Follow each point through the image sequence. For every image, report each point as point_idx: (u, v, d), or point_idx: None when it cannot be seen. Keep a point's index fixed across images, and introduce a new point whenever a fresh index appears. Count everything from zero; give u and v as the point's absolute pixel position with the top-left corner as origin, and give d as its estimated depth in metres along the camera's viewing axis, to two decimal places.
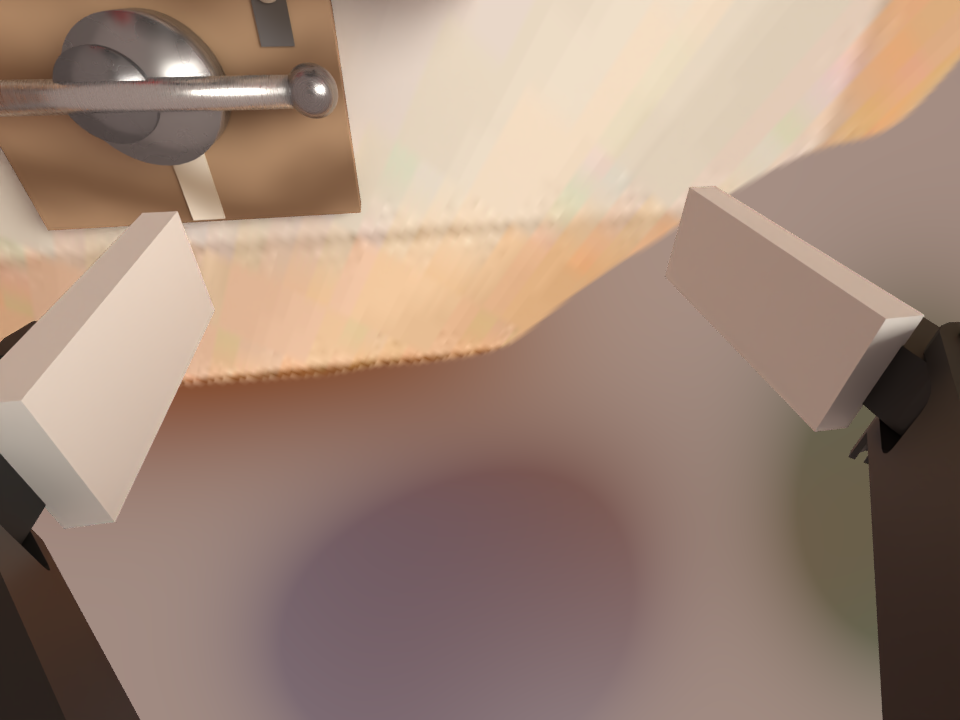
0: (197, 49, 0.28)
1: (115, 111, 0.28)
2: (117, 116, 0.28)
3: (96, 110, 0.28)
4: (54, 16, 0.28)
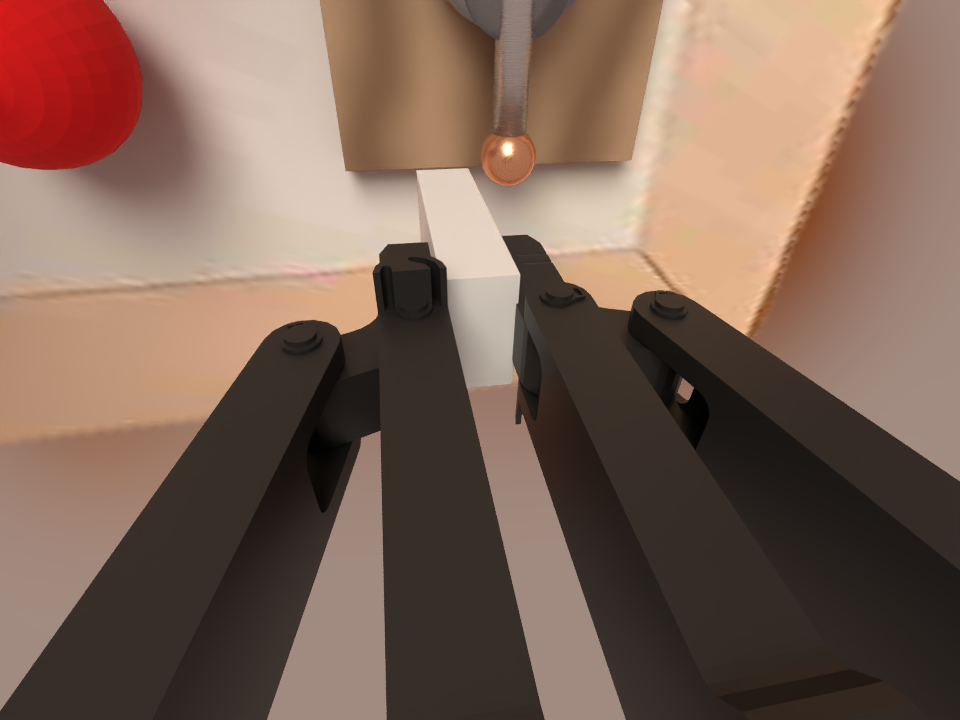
0: None
1: None
2: None
3: None
4: (432, 41, 0.26)
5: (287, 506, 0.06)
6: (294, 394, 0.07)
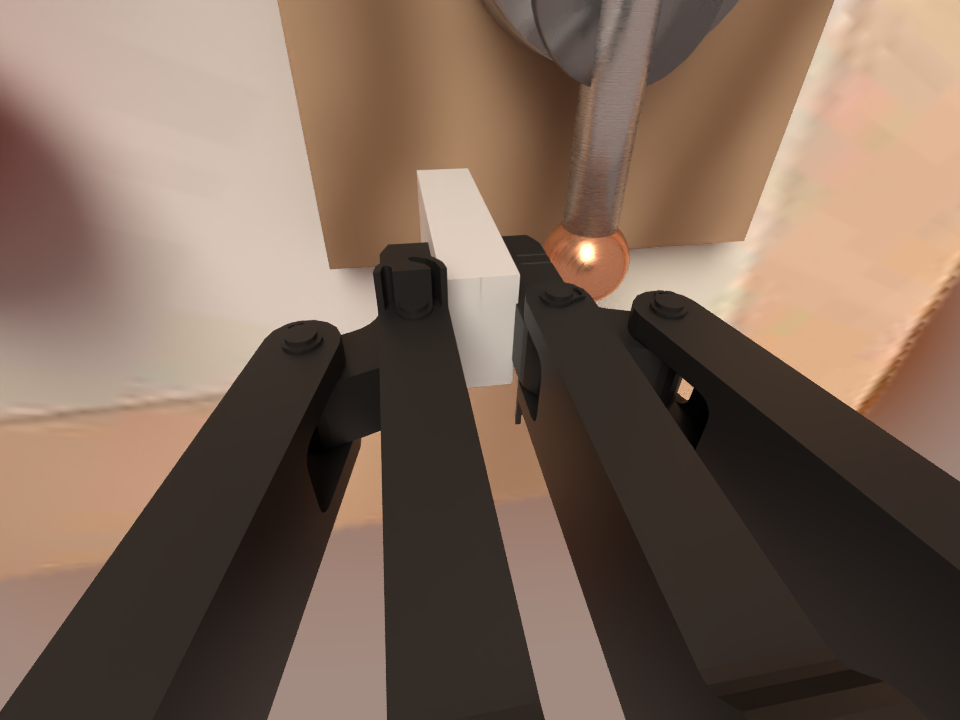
0: None
1: None
2: None
3: (658, 11, 0.12)
4: (466, 79, 0.16)
5: (287, 506, 0.06)
6: (294, 394, 0.07)
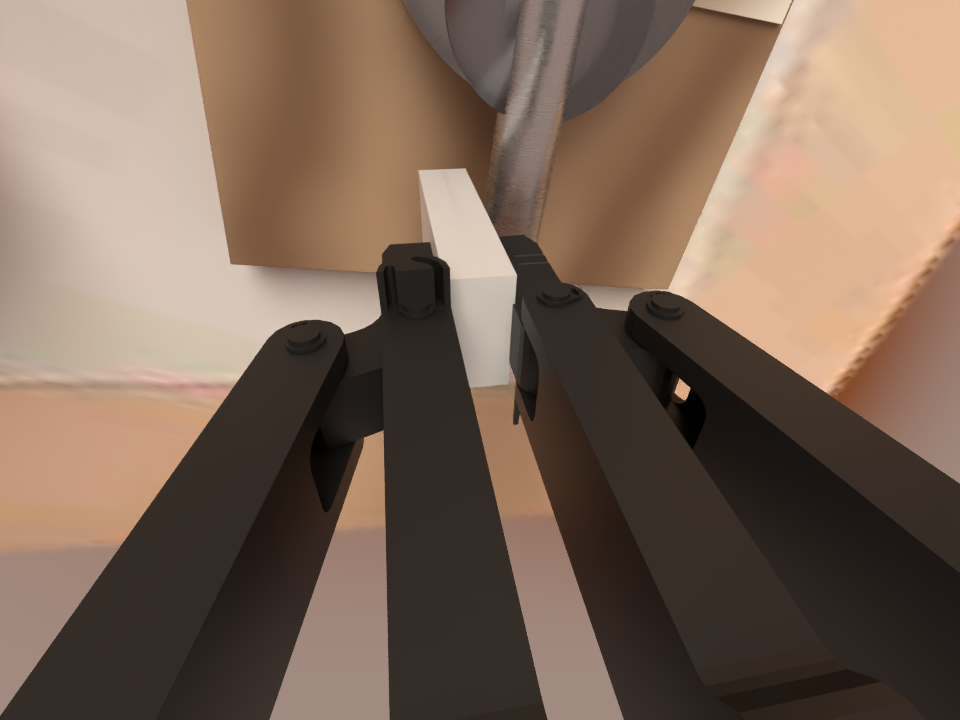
0: None
1: None
2: (595, 5, 0.11)
3: (574, 46, 0.12)
4: (388, 87, 0.15)
5: (290, 506, 0.06)
6: (298, 394, 0.07)
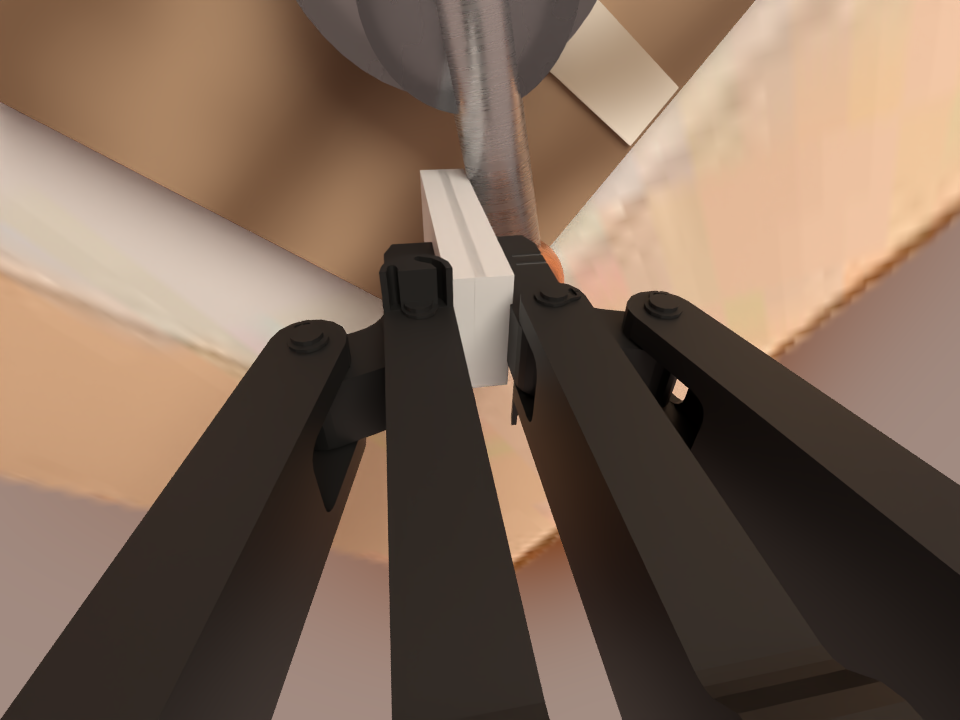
0: None
1: None
2: None
3: (504, 20, 0.11)
4: None
5: (293, 505, 0.06)
6: (300, 394, 0.07)
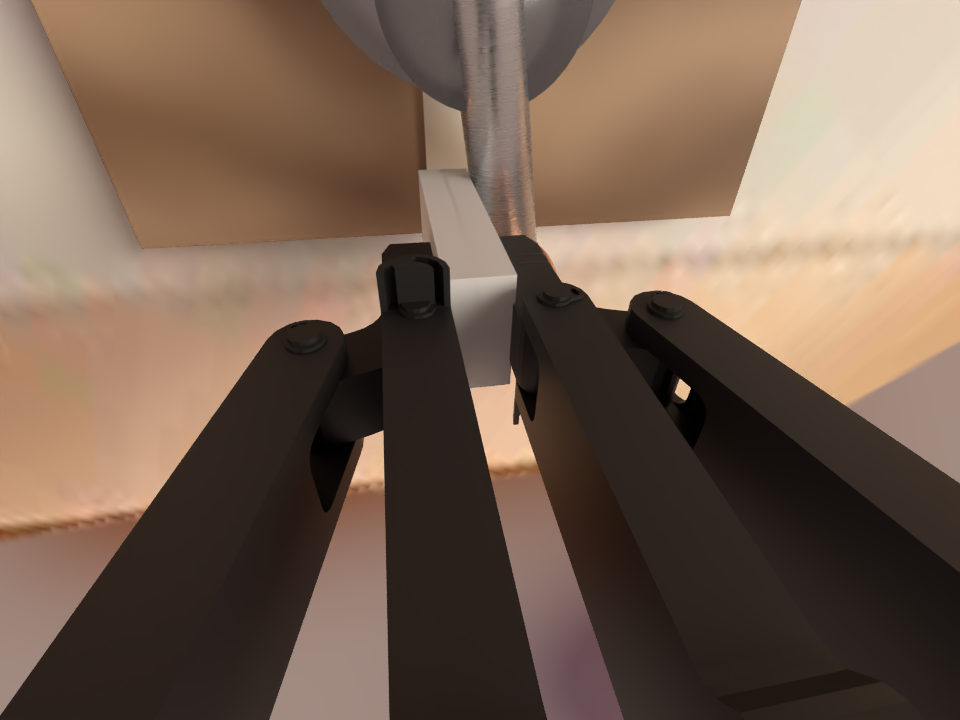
0: None
1: None
2: None
3: (518, 23, 0.11)
4: None
5: (290, 505, 0.06)
6: (297, 393, 0.07)
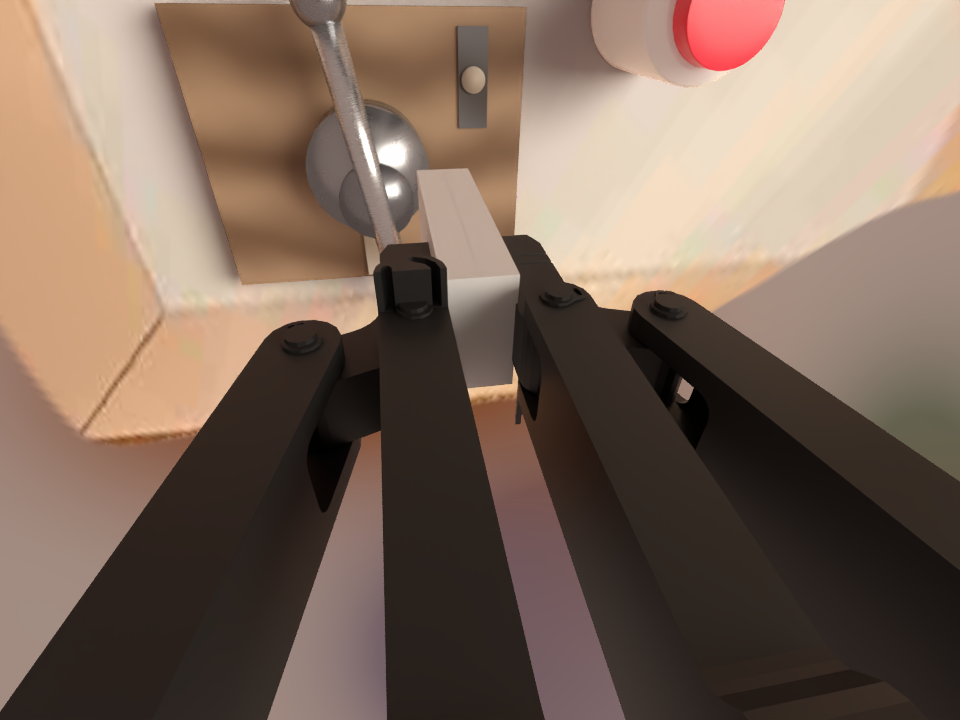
0: (320, 122, 0.31)
1: (386, 198, 0.33)
2: (390, 197, 0.33)
3: (388, 212, 0.33)
4: (292, 106, 0.32)
5: (287, 506, 0.06)
6: (295, 394, 0.07)
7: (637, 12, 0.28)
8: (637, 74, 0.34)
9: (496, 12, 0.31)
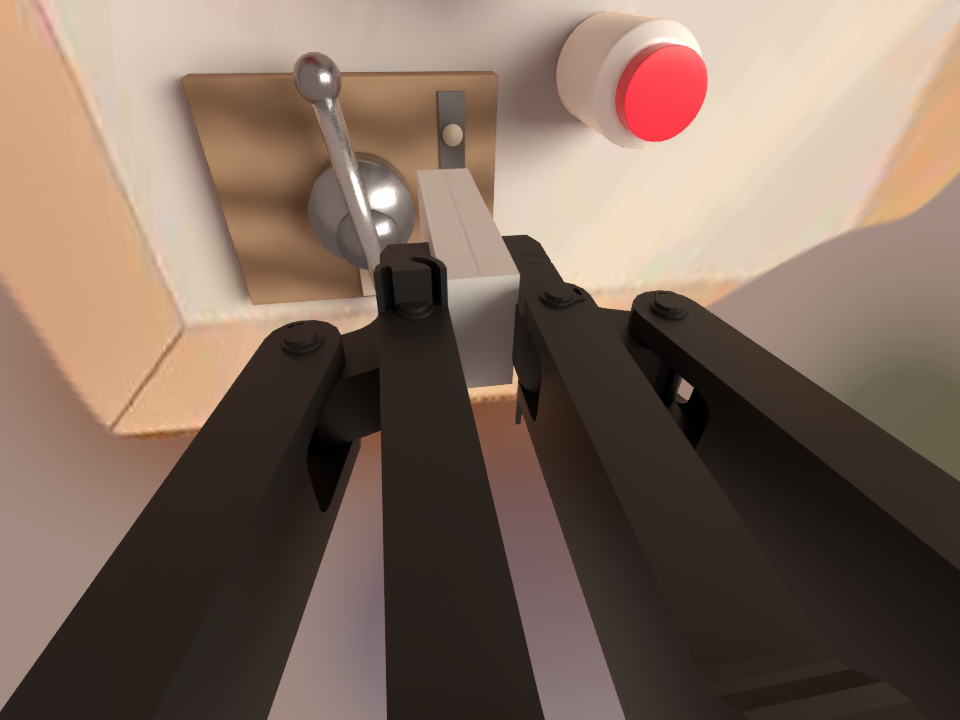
0: (320, 175, 0.36)
1: (377, 237, 0.38)
2: (380, 236, 0.38)
3: (379, 248, 0.39)
4: (296, 158, 0.37)
5: (287, 506, 0.06)
6: (294, 394, 0.07)
7: (587, 89, 0.33)
8: None
9: (471, 79, 0.36)
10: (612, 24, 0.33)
